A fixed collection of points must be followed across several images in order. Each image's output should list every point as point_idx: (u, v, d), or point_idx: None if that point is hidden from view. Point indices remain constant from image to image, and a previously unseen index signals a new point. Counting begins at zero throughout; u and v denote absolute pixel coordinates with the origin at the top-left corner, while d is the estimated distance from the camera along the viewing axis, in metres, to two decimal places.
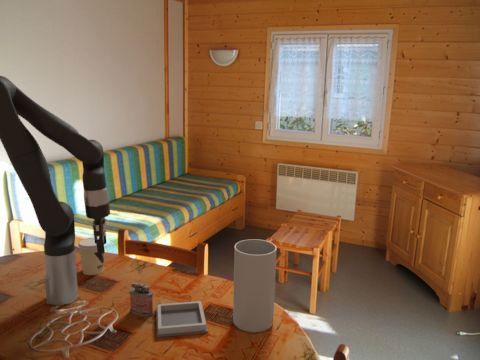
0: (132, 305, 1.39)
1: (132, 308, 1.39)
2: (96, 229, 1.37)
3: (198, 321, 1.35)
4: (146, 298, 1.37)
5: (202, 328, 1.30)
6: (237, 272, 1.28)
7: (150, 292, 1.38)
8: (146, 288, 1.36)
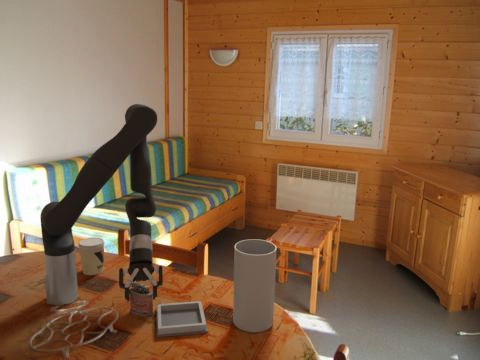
0: (132, 305, 1.39)
1: (132, 308, 1.39)
2: None
3: (198, 321, 1.35)
4: (146, 298, 1.37)
5: (202, 328, 1.30)
6: (237, 272, 1.28)
7: (150, 292, 1.38)
8: (146, 288, 1.36)
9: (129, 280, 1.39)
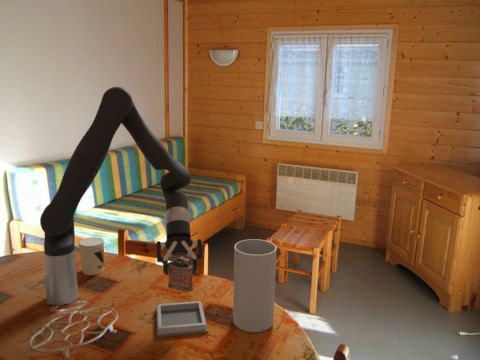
0: (171, 279, 1.32)
1: (171, 283, 1.32)
2: (201, 244, 1.37)
3: (198, 321, 1.35)
4: (186, 272, 1.30)
5: (202, 328, 1.30)
6: (237, 272, 1.28)
7: (190, 266, 1.31)
8: (186, 261, 1.30)
9: (167, 253, 1.32)
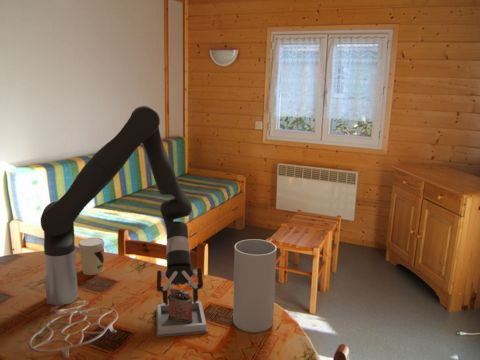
0: (171, 311, 1.35)
1: (171, 315, 1.35)
2: None
3: (198, 321, 1.35)
4: (186, 304, 1.32)
5: (202, 328, 1.30)
6: (237, 272, 1.28)
7: (190, 298, 1.33)
8: (186, 294, 1.32)
9: (167, 283, 1.34)
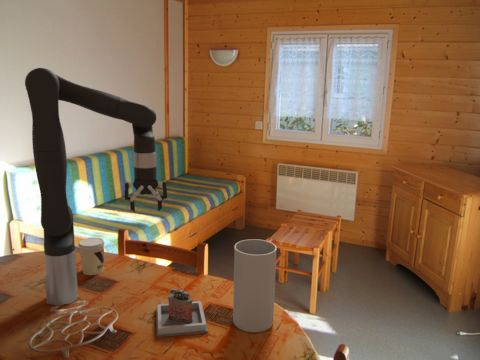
0: (171, 311, 1.35)
1: (171, 315, 1.35)
2: None
3: (198, 321, 1.35)
4: (186, 304, 1.32)
5: (202, 328, 1.30)
6: (237, 272, 1.28)
7: (190, 298, 1.33)
8: (186, 294, 1.32)
9: (134, 195, 1.48)
